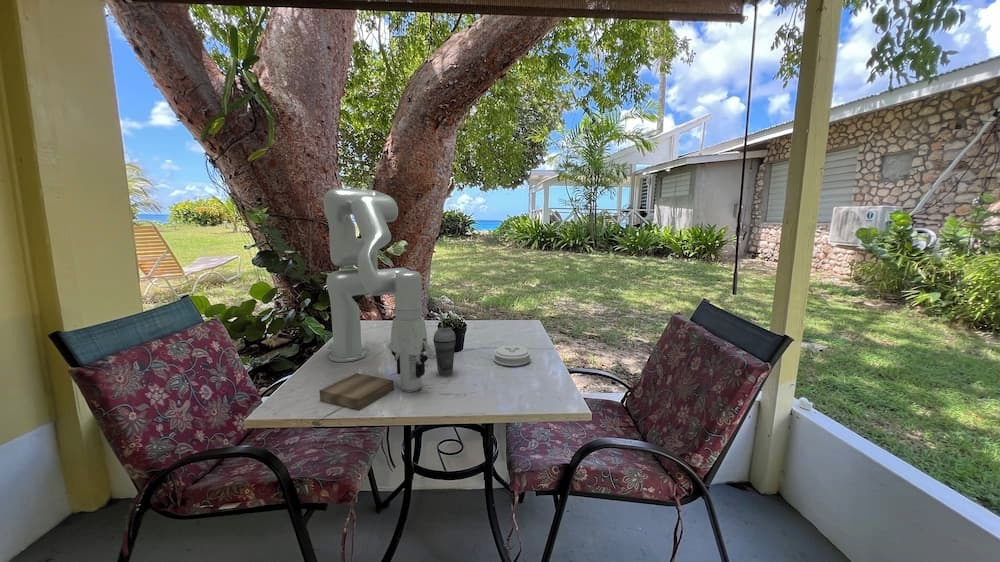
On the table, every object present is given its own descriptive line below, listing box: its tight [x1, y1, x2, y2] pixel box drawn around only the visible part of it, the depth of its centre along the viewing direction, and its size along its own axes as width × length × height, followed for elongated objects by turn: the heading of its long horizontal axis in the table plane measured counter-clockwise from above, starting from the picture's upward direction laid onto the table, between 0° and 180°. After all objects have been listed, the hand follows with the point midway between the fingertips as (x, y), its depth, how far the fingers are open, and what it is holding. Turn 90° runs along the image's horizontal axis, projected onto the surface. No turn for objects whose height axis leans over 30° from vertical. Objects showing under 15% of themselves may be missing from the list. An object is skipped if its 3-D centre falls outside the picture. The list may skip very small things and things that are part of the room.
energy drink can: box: [399, 346, 423, 393], centre depth 121 cm, size 6×6×15 cm
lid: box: [493, 344, 531, 367], centre depth 145 cm, size 13×13×5 cm
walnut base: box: [319, 372, 395, 411], centre depth 117 cm, size 14×14×3 cm
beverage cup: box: [432, 312, 457, 378], centre depth 132 cm, size 7×7×20 cm
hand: (410, 373), depth 121 cm, fingers closed on energy drink can, 6 cm apart
